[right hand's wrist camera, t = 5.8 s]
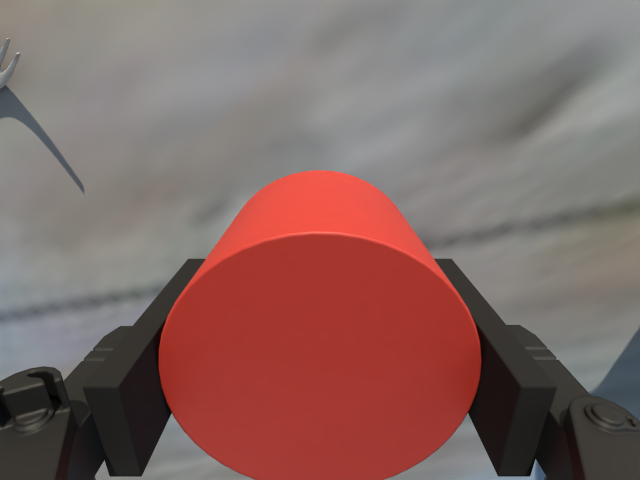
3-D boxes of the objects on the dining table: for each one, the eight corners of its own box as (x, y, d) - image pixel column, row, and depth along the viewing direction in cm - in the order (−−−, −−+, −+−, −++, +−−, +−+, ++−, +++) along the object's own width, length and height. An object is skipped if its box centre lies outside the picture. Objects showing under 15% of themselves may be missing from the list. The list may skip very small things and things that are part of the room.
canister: (295, 128, 14) (271, 154, 7) (451, 242, 16) (552, 352, 9) (193, 281, 17) (103, 411, 10) (338, 366, 19) (350, 526, 12)
